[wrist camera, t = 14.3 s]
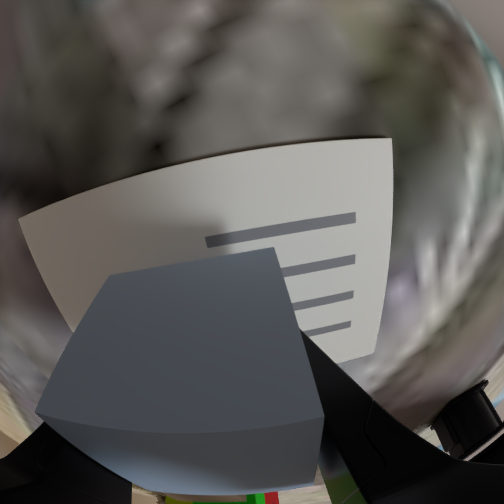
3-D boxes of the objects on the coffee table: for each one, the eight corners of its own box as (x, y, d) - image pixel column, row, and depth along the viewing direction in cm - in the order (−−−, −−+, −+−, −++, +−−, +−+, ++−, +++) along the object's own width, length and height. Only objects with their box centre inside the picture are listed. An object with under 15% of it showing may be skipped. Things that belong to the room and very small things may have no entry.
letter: (388, 137, 8) (391, 138, 7) (372, 350, 12) (373, 353, 12) (20, 217, 8) (17, 219, 7) (113, 384, 12) (112, 387, 12)
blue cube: (273, 246, 7) (324, 416, 3) (288, 363, 10) (313, 485, 5) (109, 275, 7) (34, 412, 3) (164, 377, 10) (147, 490, 5)
